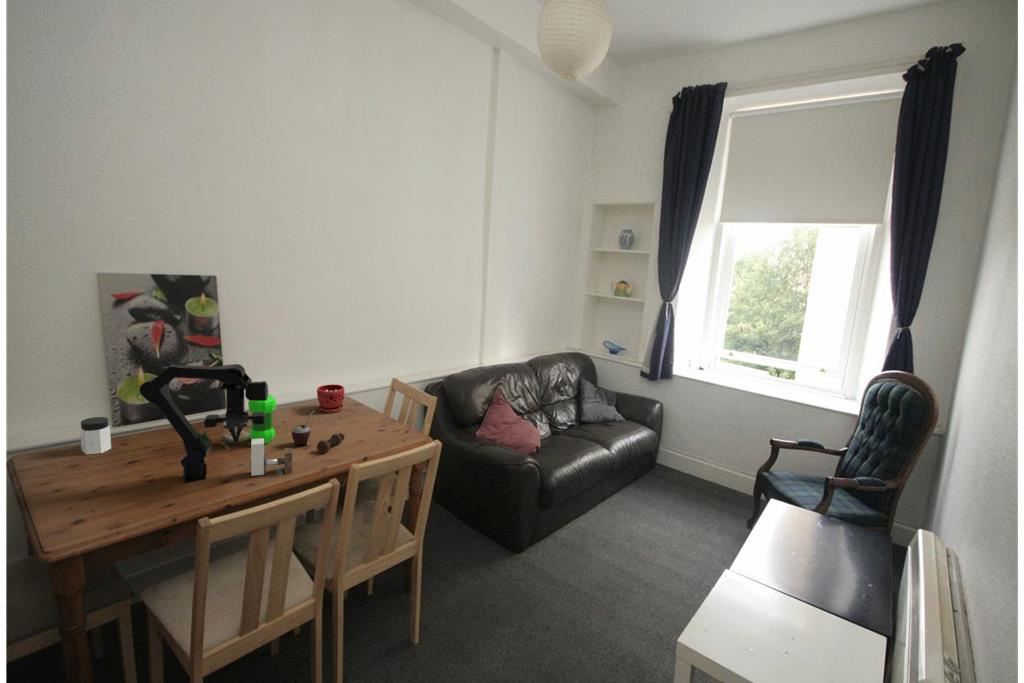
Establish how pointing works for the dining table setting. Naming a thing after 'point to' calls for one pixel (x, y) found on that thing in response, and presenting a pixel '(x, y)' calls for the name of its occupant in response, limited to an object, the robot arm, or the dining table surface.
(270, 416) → the plastic bottle
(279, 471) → the pipe block
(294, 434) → the mate gourd
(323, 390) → the plant pot
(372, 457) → the dining table surface
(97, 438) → the jar
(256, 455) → the white rectangular block
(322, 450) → the brown knobbed cylinder
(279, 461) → the pipe
